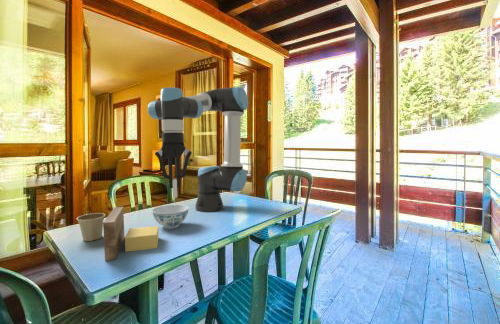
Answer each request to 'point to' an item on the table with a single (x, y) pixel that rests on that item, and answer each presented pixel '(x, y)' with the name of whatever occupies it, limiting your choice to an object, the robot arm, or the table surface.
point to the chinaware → (170, 215)
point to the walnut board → (113, 233)
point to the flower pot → (91, 226)
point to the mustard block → (141, 238)
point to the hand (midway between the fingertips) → (175, 196)
